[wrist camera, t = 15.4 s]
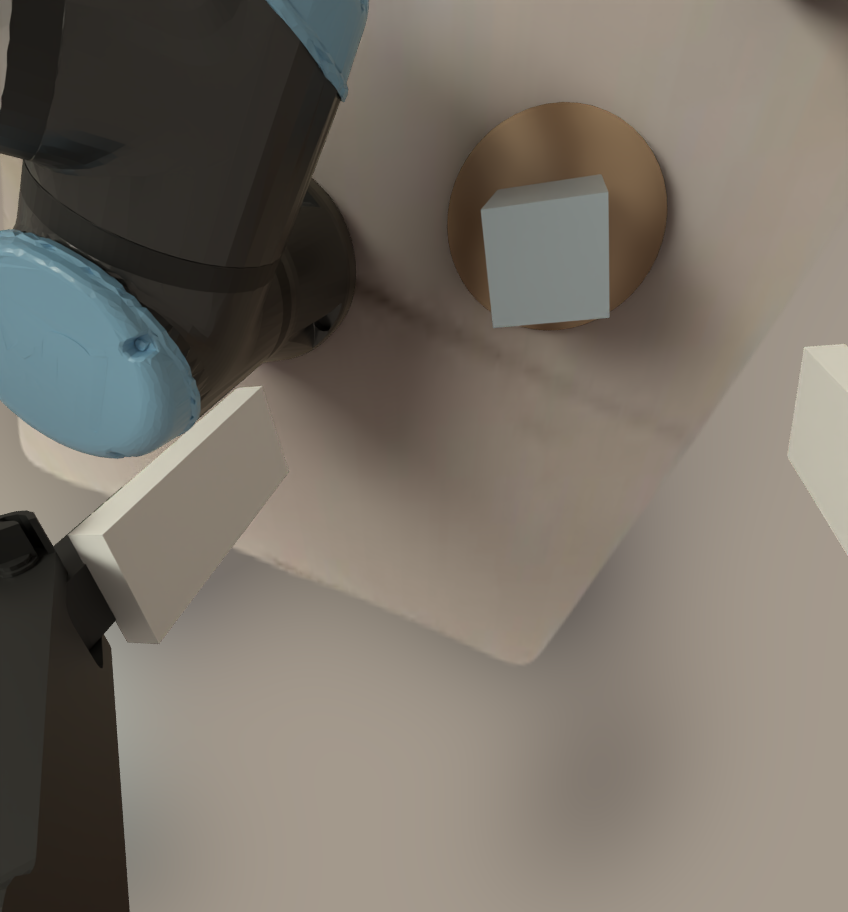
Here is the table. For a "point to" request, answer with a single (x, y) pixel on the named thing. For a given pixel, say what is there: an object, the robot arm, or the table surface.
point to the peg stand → (558, 158)
